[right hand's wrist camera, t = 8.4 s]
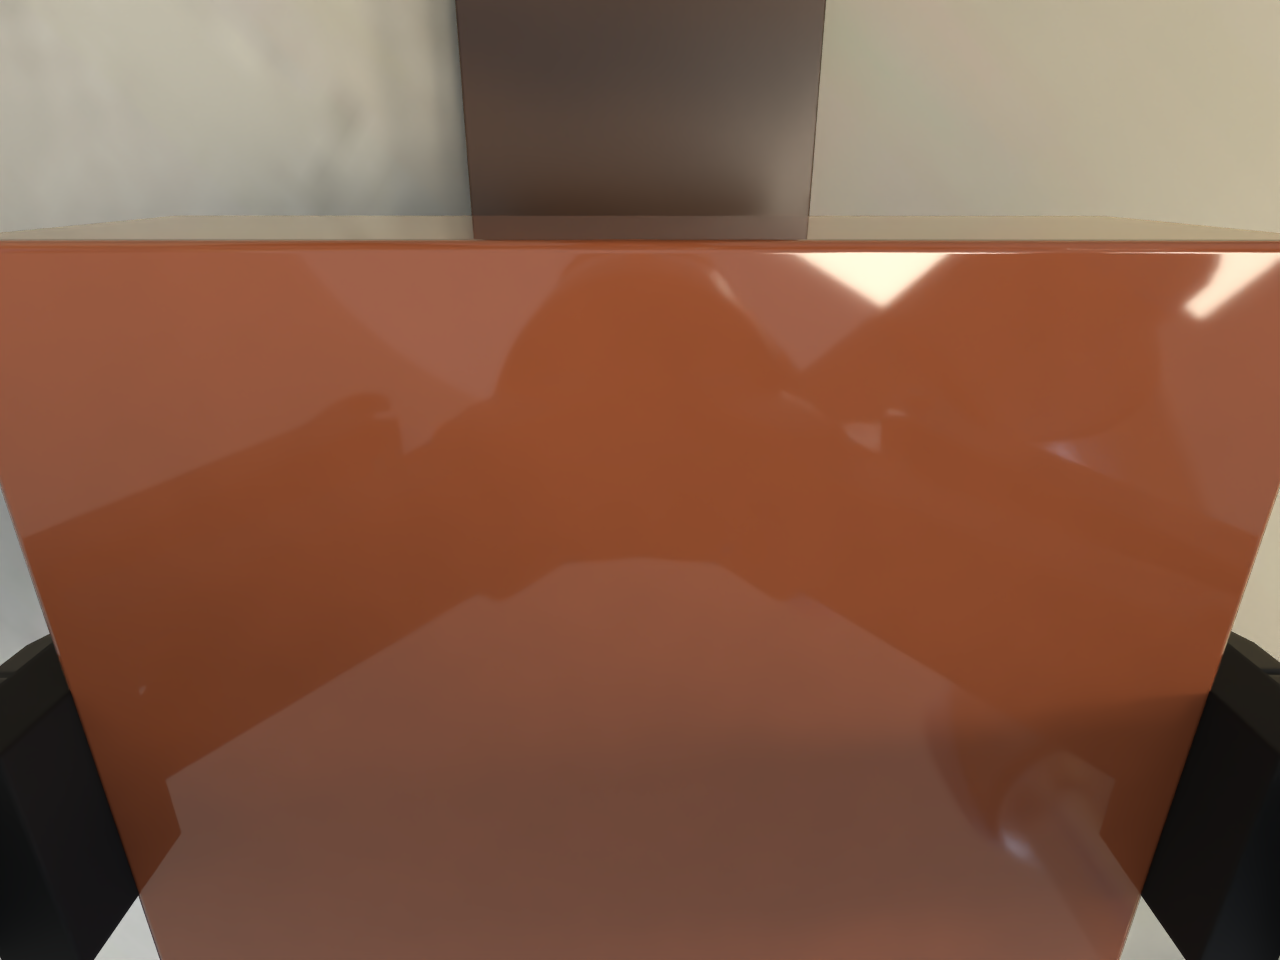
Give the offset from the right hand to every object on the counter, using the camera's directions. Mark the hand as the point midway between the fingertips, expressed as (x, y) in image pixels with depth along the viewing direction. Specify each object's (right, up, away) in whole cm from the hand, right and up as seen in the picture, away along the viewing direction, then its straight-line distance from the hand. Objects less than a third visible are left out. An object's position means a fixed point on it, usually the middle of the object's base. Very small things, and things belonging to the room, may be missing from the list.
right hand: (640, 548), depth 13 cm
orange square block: (0, 0, -1) cm, 1 cm away
